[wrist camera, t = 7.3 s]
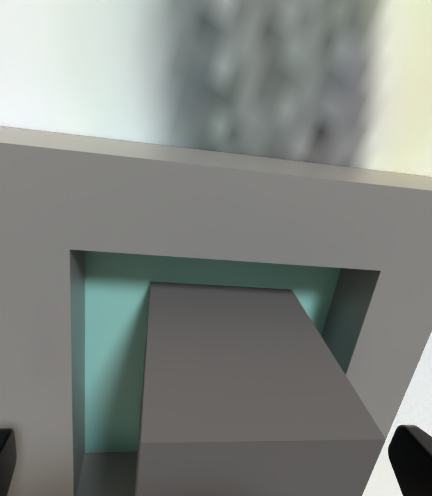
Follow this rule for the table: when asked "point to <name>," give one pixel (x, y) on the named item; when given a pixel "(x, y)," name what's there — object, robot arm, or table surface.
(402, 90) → the table surface
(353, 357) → the socket
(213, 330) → the block
